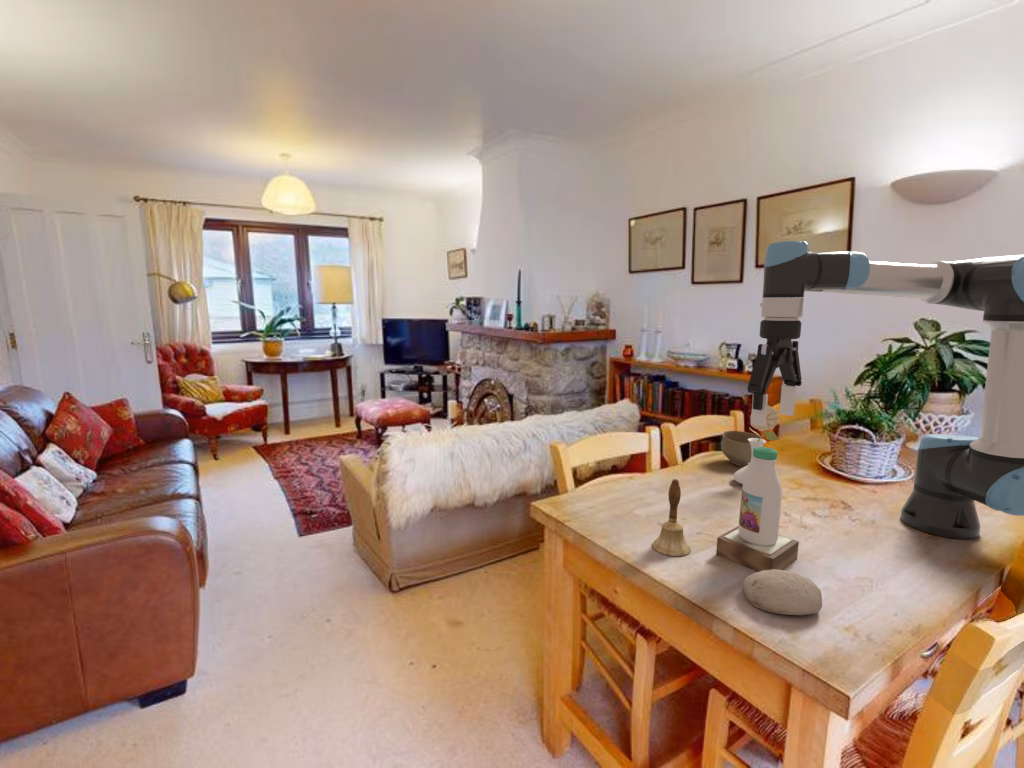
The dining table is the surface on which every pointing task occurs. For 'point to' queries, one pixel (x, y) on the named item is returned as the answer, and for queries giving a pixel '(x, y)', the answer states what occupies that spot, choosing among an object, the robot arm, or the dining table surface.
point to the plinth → (757, 551)
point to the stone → (783, 592)
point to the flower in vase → (759, 440)
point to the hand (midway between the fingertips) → (772, 419)
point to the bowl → (737, 446)
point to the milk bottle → (761, 500)
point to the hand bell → (672, 528)
